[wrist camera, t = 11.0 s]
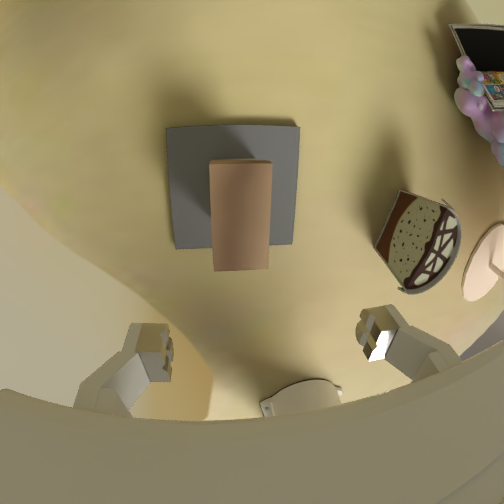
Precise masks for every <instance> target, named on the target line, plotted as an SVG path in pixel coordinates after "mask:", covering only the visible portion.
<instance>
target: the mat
mask: <svg viewBox="0 0 504 504" xmlns="http://www.w3.org/2000/svg"><path fill="white" fill-rule="evenodd" d="M166 137H167V159H168V175H169V189H170V201H171V212H172V222H173V231H174V240H175V248H176V249H196V248H213V247H212V227H211V204H210V172H209V163H210V161H212V159H256V160H269V161H270V162H271V163H272V164H273V165H272V190H271V213H270V234H269V245H289V244H292V241H293V229H294V218H295V205H296V191H297V177H298V160H299V142H300V127H295V126H277V125H207V126H188V127H175V128H166Z"/></svg>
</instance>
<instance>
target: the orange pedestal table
mask: <svg viewBox="0 0 504 504" xmlns="http://www.w3.org/2000/svg"><path fill="white" fill-rule="evenodd" d="M503 269H504V224H501V223H499V224H497V225H495V226H493V227H491V228H490V229H489V230H488V231H487V233H486V234H485V235H484V236H483V237H482V238H481V239H480V241H479V243H478V245H477V246H476V248H475V250H474V251H473V253H472V255H471V257H470V259H469V262H468V264H467V267H466V269H465V271H464V276H463V280H462V285H461V288H462V296H463V297H464V298H465V299H467V300H468V301H469V302H470V301H475V300H478V299H479V298H481V297H482V296H484V295H485V294H486V293H487V292H488V291H489V290H490V289H491V288H492V287H493V285H494V284H495V283H496V281H497V280H498V278H499V277H500V278H501V279H502V280H503V281H504V273H503Z"/></svg>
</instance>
